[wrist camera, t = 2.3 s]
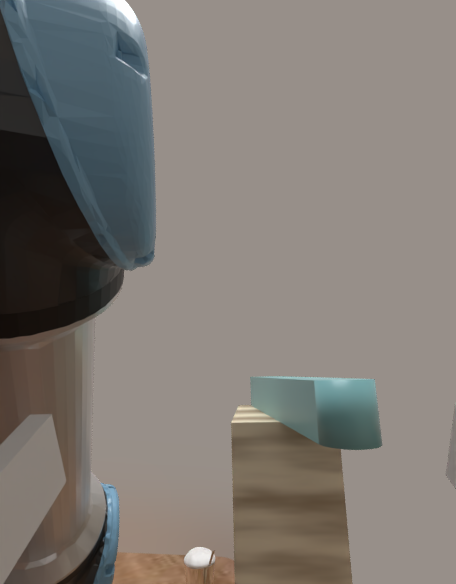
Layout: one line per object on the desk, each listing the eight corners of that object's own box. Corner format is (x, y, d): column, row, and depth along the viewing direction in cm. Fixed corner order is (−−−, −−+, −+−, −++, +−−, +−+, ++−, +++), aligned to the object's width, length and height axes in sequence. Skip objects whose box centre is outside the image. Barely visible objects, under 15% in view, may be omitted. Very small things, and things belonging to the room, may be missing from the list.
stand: (375, 851, 26) (338, 421, 33) (240, 842, 26) (231, 422, 33) (326, 657, 43) (308, 404, 50) (245, 654, 44) (238, 405, 51)
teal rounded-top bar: (395, 448, 21) (386, 379, 22) (330, 451, 21) (324, 381, 21) (274, 403, 52) (273, 376, 53) (248, 404, 52) (247, 376, 53)
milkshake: (201, 643, 46) (201, 556, 48) (177, 623, 50) (178, 543, 52) (226, 626, 49) (225, 545, 51) (201, 608, 53) (201, 533, 55)
